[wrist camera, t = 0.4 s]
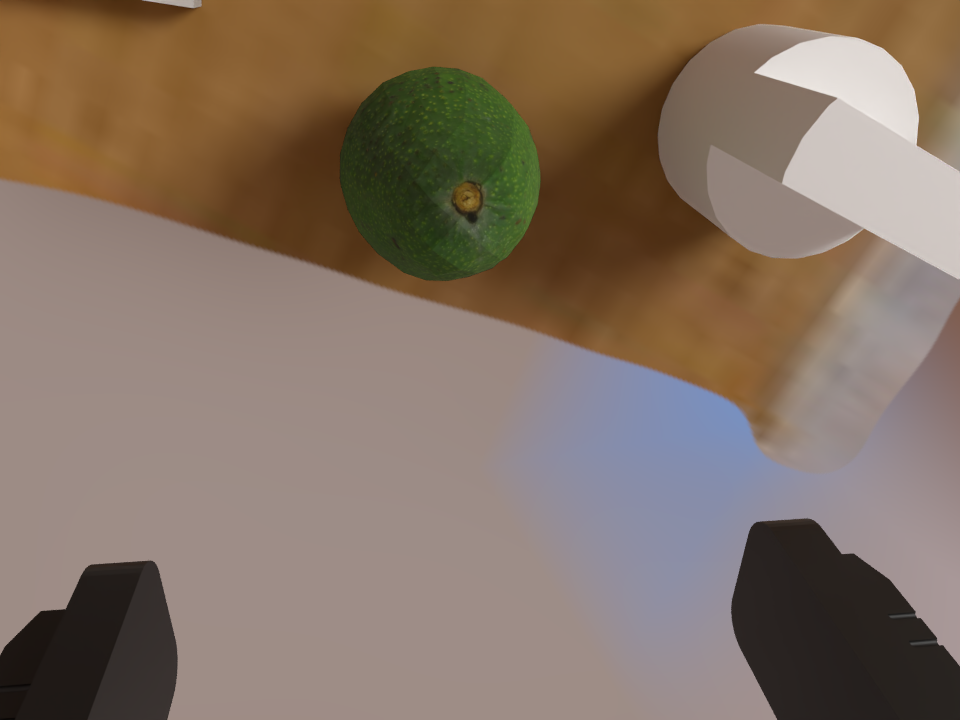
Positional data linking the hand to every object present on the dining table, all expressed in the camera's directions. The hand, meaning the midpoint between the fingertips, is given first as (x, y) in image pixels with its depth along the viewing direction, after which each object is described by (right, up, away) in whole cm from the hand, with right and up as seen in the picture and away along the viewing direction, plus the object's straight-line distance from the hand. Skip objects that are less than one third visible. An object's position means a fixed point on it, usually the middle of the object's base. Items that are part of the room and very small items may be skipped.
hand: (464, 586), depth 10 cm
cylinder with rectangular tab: (+13, +14, +26) cm, 33 cm away
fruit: (-2, +13, +25) cm, 28 cm away
